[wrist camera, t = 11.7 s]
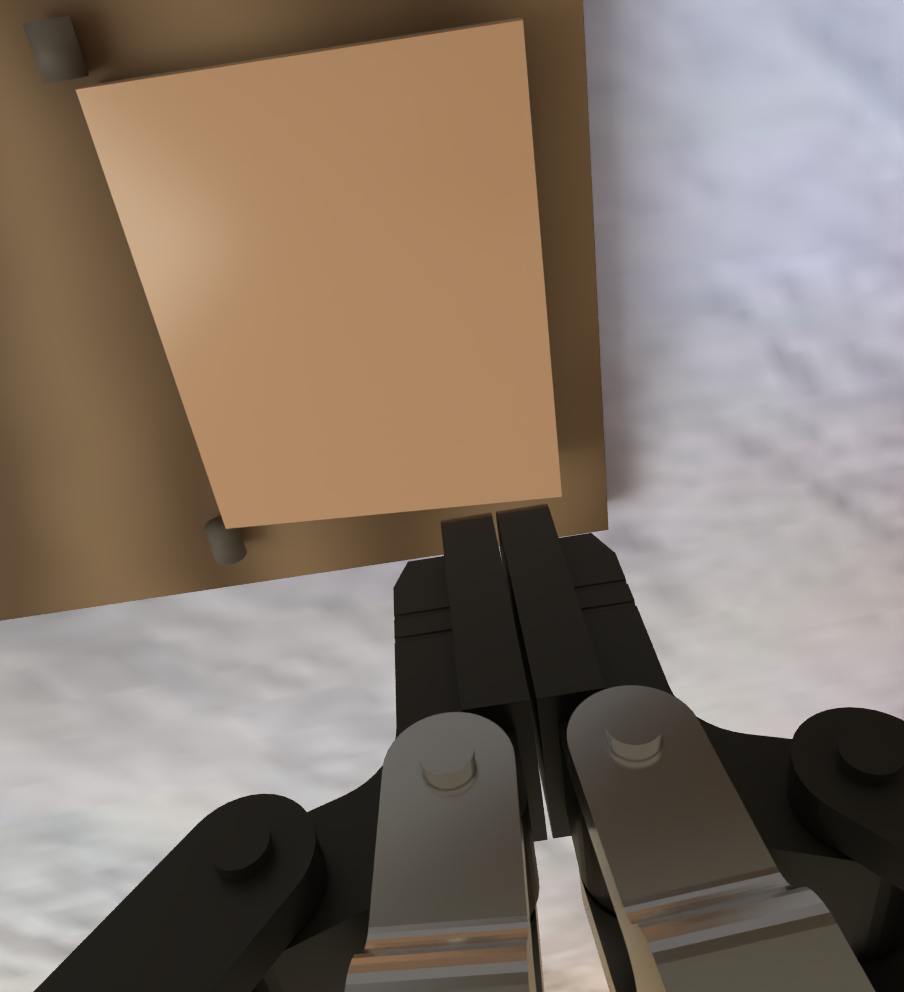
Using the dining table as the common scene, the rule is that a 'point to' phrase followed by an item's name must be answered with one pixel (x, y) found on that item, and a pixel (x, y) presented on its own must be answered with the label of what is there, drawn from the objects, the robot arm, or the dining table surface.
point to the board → (134, 335)
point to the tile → (345, 270)
